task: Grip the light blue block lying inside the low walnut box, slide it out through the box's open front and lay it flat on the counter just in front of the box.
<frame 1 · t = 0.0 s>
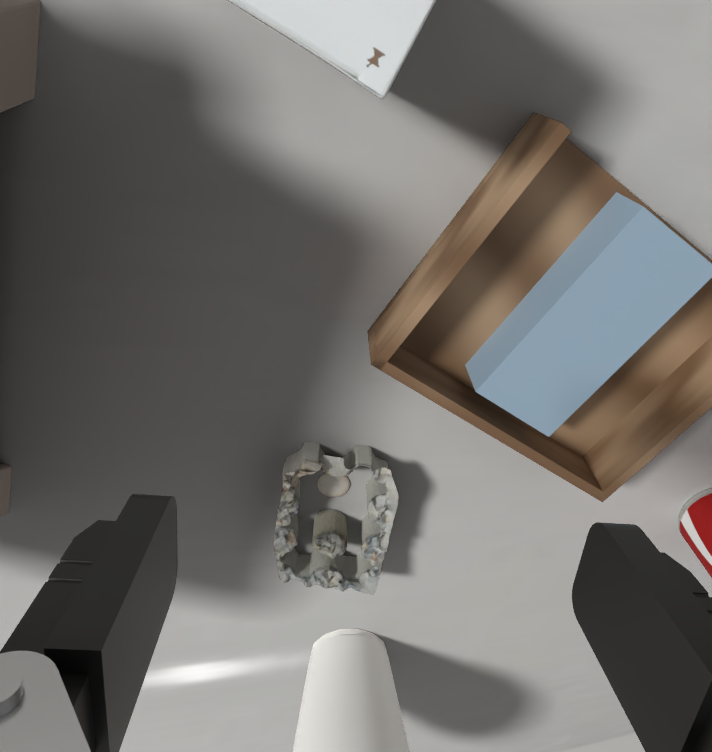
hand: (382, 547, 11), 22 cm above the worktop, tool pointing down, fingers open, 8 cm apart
egg carton: (334, 498, 40), on the worktop
light blue block: (570, 310, 33), point 1 cm above the worktop, touching walnut box
walnut box: (559, 314, 33), on the worktop
soda can: (710, 510, 42), on the worktop
foam cup: (348, 651, 48), on the worktop
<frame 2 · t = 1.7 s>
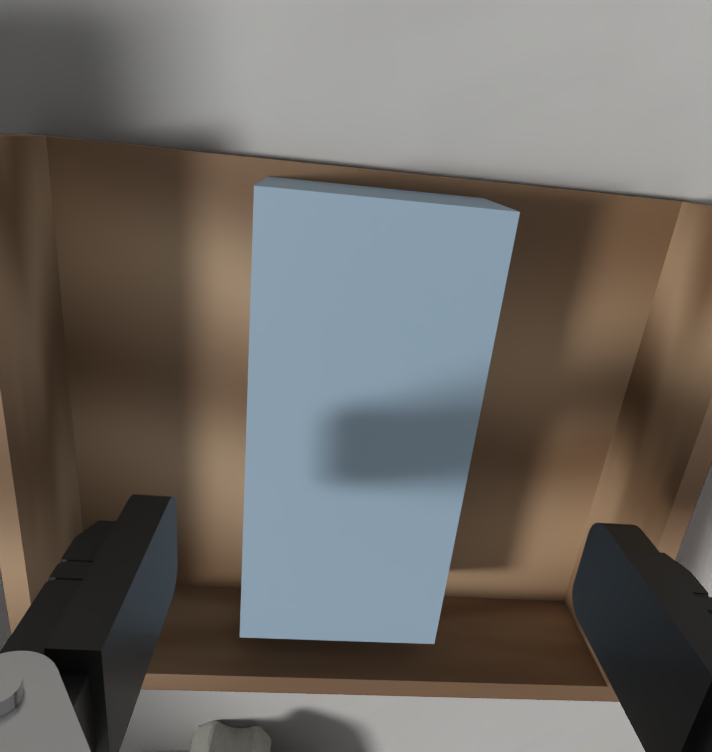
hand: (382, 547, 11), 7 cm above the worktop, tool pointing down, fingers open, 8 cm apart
light blue block: (354, 402, 17), point 1 cm above the worktop, touching walnut box
walnut box: (351, 412, 18), on the worktop
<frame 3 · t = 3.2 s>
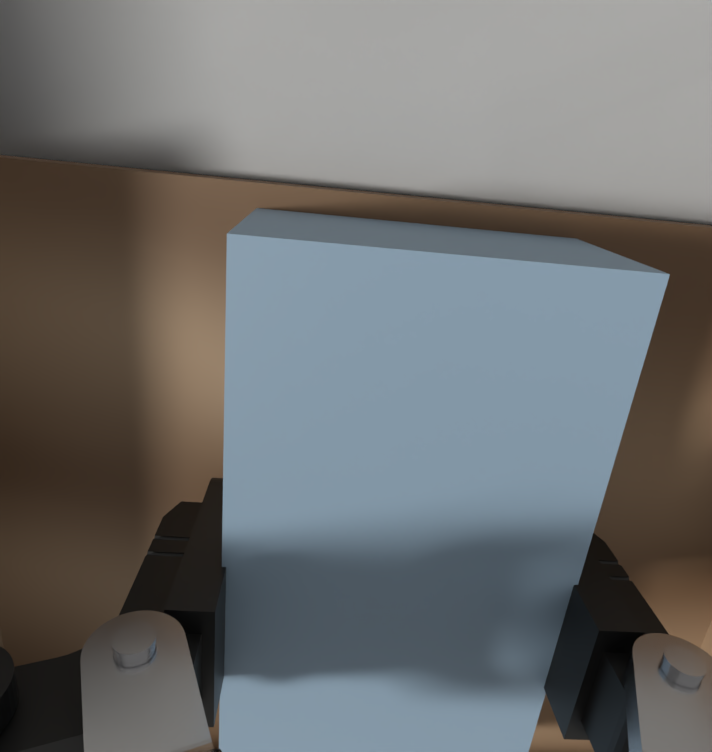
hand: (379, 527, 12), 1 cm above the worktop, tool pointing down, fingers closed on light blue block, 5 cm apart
light blue block: (380, 519, 12), point 1 cm above the worktop, touching gripper, walnut box
walnut box: (375, 525, 13), on the worktop
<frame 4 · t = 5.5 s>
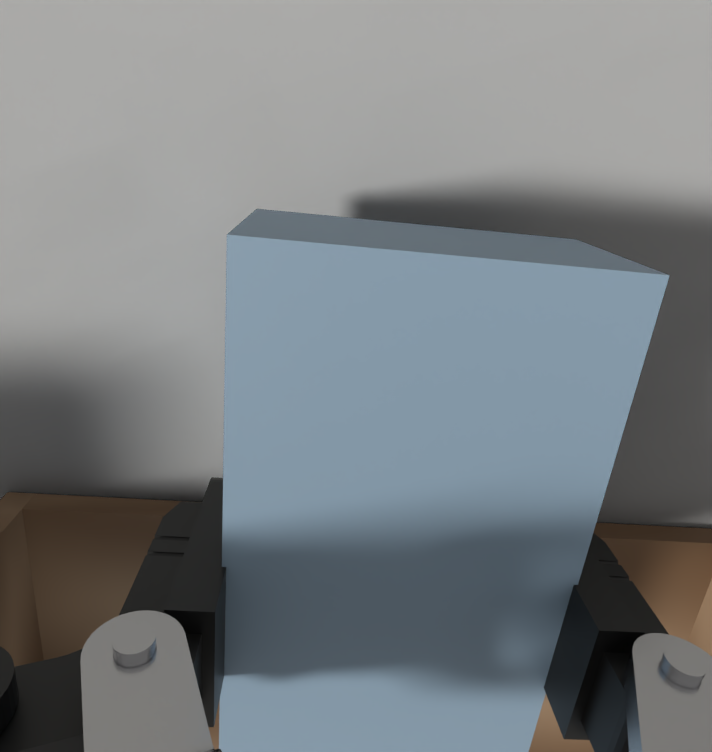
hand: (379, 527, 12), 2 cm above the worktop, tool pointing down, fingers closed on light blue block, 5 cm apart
light blue block: (380, 519, 12), point 1 cm above the worktop, touching gripper
walnut box: (359, 723, 16), on the worktop
when the fingers open (1 cm above the worktop, at t = 8.0 s): light blue block drops 1 cm, on the worktop.
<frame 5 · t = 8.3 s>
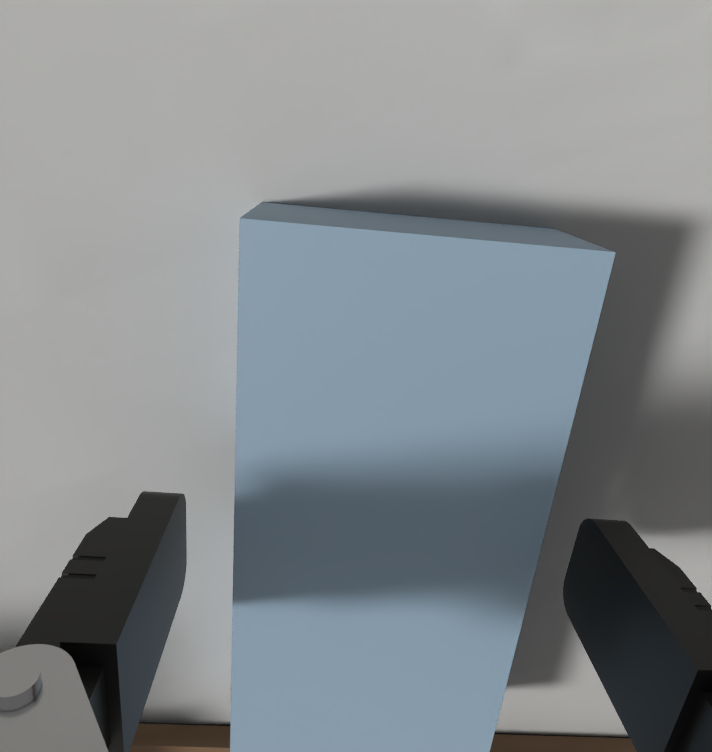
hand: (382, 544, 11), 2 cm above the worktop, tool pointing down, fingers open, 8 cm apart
light blue block: (375, 481, 13), on the worktop
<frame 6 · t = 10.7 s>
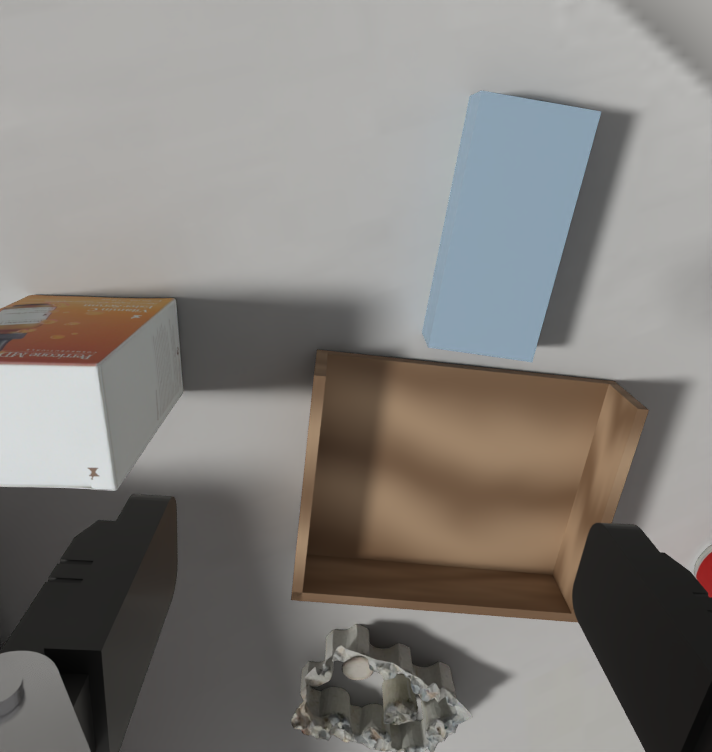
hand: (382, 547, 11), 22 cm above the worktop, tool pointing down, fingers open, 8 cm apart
small box: (110, 343, 32), on the worktop
egg carton: (379, 670, 42), on the worktop
light blue block: (494, 229, 31), on the worktop
walnut box: (446, 472, 35), on the worktop
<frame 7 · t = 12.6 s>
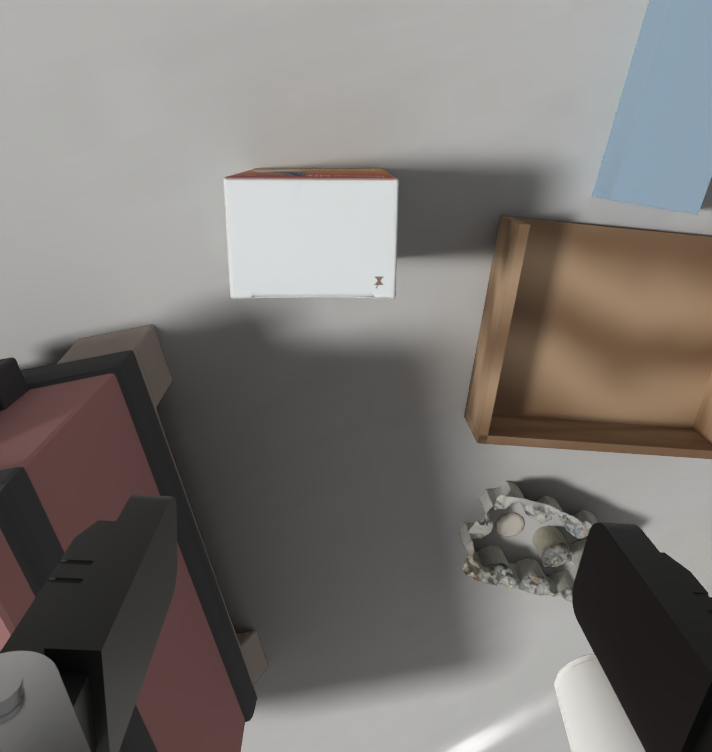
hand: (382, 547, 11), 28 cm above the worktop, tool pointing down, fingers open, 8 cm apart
small box: (318, 214, 36), on the worktop
egg carton: (527, 526, 46), on the worktop
toaster: (90, 522, 44), on the worktop
light blue block: (662, 99, 35), on the worktop
walnut box: (604, 332, 40), on the worktop
foam cup: (588, 678, 52), on the worktop
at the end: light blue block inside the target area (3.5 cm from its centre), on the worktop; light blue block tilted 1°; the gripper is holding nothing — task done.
